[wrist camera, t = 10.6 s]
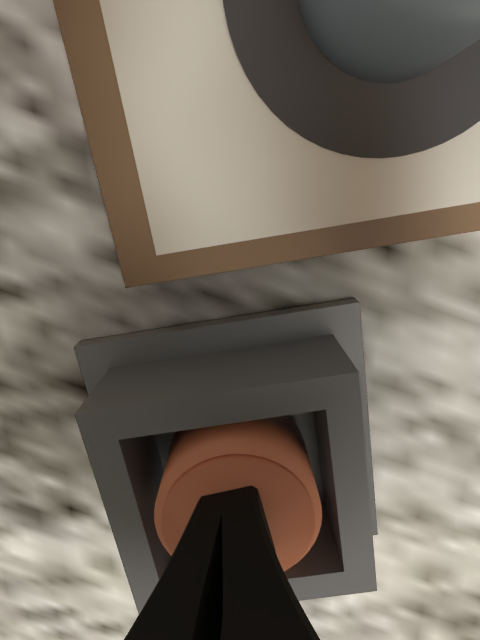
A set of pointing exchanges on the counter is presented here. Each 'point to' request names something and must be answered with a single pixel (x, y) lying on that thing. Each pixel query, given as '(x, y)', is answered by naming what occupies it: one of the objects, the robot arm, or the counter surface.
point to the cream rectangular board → (261, 138)
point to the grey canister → (390, 34)
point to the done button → (243, 480)
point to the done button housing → (232, 407)
